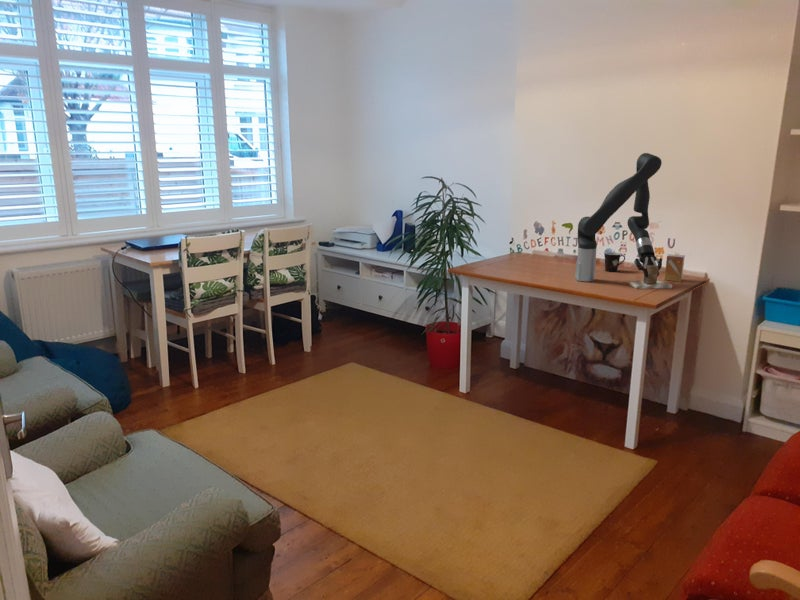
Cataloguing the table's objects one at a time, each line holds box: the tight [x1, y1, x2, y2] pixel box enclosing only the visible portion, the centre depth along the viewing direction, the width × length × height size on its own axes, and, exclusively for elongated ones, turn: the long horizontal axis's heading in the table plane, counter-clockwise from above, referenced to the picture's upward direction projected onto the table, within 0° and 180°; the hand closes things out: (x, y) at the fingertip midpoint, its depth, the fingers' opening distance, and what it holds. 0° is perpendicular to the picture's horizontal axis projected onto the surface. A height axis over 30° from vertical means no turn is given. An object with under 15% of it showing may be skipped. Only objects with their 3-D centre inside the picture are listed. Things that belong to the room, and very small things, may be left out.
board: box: [628, 280, 673, 290], centre depth 313 cm, size 18×10×2 cm, turn 91°
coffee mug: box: [604, 251, 626, 273], centre depth 349 cm, size 12×9×10 cm
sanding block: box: [643, 265, 659, 284], centre depth 312 cm, size 4×5×9 cm
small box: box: [663, 254, 686, 283], centre depth 325 cm, size 8×6×13 cm
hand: (652, 276), depth 310 cm, fingers closed on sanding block, 4 cm apart
